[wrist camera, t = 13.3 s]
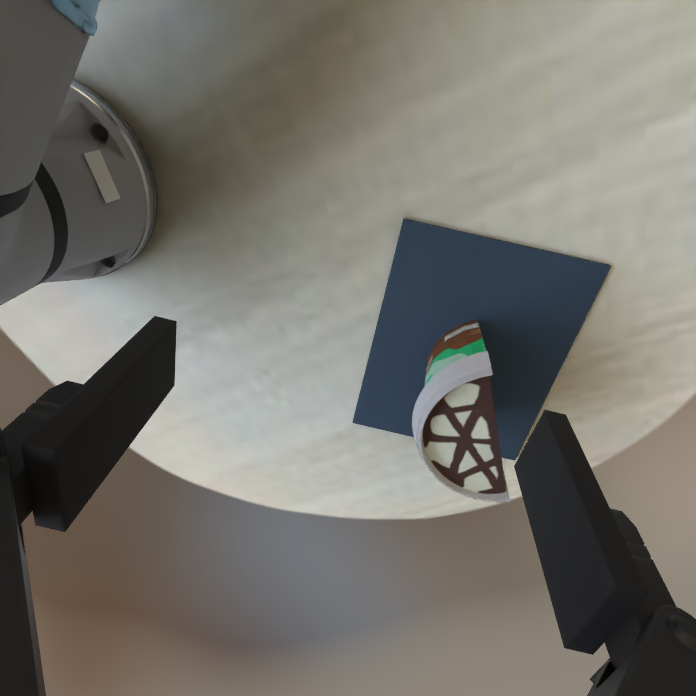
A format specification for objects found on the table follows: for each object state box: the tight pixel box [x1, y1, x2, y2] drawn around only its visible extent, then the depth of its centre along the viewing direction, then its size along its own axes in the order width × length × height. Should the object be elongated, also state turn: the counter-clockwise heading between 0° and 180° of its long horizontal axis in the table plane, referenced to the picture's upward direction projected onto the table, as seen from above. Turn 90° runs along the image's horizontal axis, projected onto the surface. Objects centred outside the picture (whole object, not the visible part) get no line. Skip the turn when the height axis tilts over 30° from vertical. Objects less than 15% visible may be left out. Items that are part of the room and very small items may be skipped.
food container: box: [412, 320, 510, 502], centre depth 38 cm, size 12×6×10 cm, turn 14°
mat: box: [353, 219, 611, 460], centre depth 41 cm, size 16×20×1 cm
